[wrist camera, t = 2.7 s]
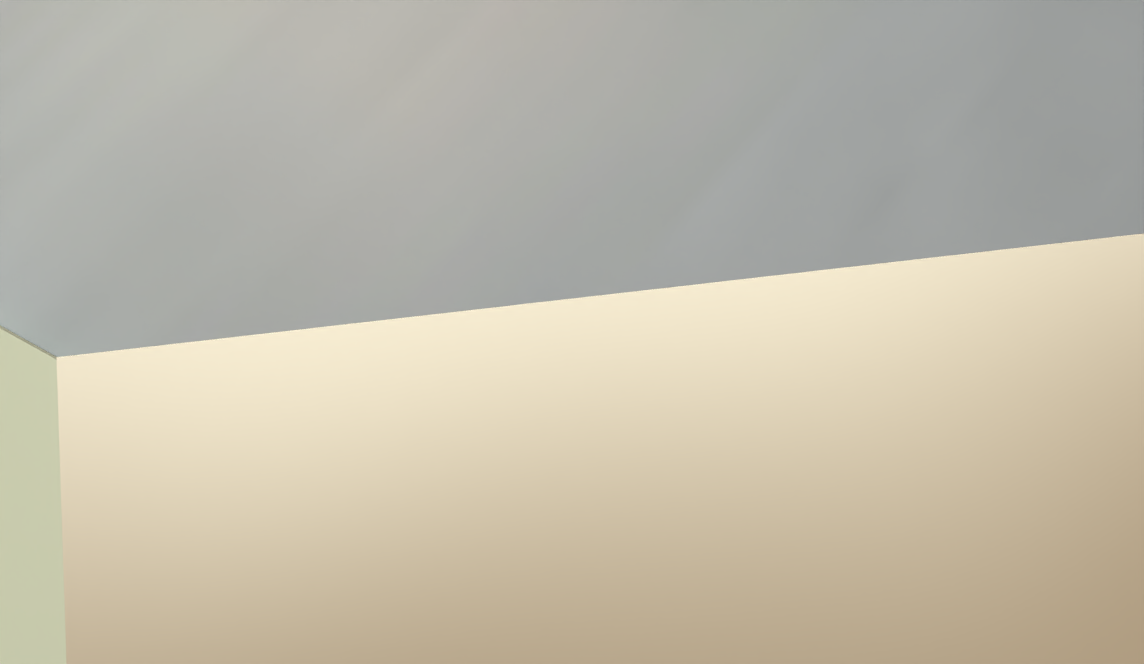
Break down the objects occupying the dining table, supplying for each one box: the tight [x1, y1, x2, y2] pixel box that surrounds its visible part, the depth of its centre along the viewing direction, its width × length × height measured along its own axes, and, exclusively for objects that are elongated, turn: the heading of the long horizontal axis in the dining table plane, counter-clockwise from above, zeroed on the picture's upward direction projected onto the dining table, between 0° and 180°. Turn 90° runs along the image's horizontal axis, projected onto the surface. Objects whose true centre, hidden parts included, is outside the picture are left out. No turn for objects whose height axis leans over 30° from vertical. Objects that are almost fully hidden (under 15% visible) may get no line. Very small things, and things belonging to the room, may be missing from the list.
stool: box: [56, 234, 1144, 664], centre depth 11 cm, size 5×6×13 cm
